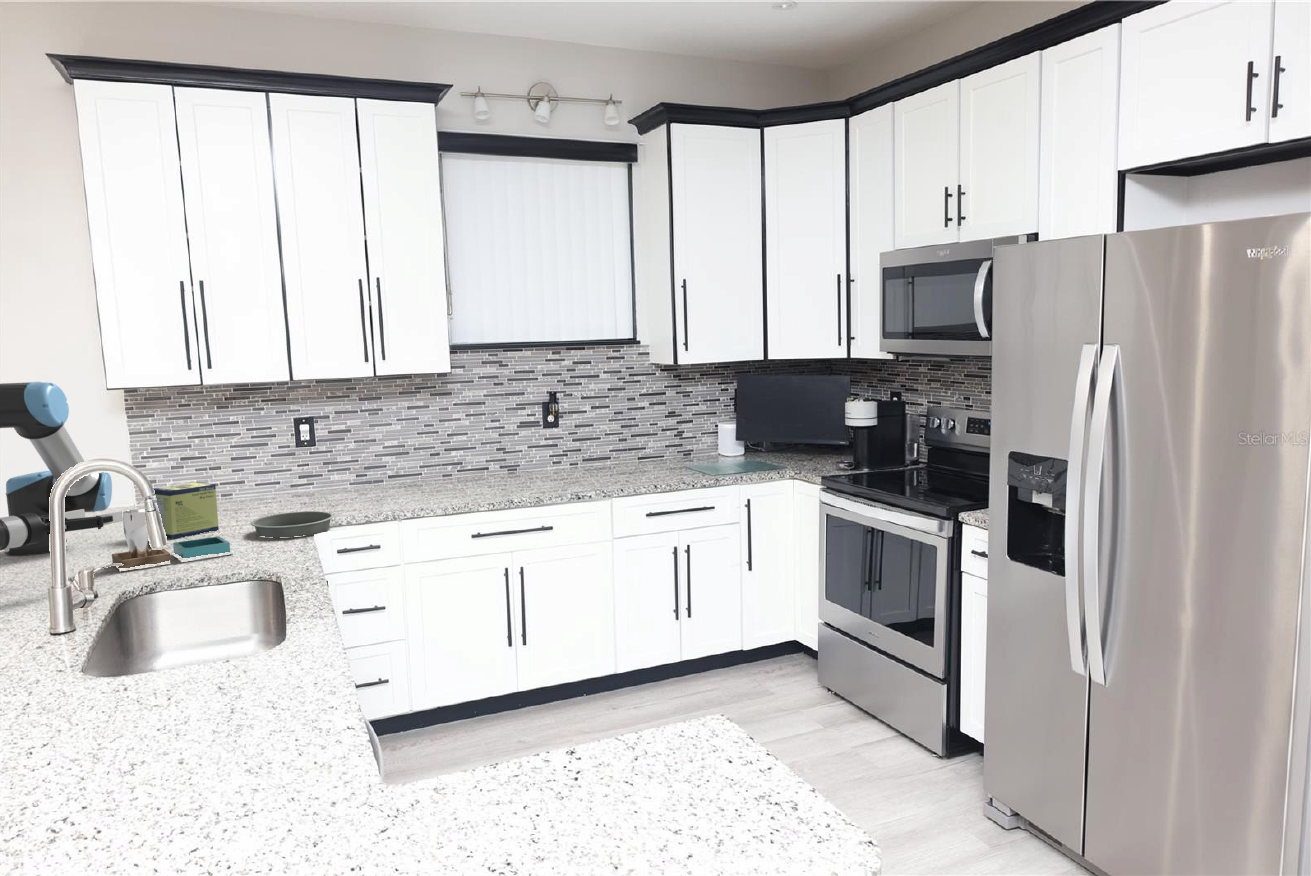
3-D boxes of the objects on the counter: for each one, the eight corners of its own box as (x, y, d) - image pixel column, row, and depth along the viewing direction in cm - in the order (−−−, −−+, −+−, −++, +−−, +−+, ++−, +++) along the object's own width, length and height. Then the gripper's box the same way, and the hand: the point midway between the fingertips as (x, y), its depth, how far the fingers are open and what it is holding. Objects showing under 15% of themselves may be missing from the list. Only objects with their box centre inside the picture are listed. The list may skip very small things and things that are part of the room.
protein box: (220, 530, 278) (216, 483, 276) (172, 540, 265) (168, 490, 263) (201, 527, 283) (197, 481, 282) (153, 536, 270) (149, 488, 268)
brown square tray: (120, 572, 225) (119, 561, 224) (112, 564, 234) (111, 553, 233) (171, 564, 232) (170, 553, 232) (162, 556, 241) (161, 546, 241)
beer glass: (144, 560, 237) (140, 507, 236) (162, 562, 235) (157, 508, 233) (121, 566, 231) (116, 512, 230) (139, 568, 228) (134, 513, 227)
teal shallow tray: (181, 562, 234) (180, 550, 233) (171, 555, 243) (170, 542, 243) (232, 554, 242) (232, 542, 242) (221, 547, 252) (220, 535, 251)
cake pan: (234, 540, 263) (233, 526, 262) (280, 524, 287) (279, 510, 287) (308, 540, 260) (307, 526, 259) (348, 524, 284) (347, 510, 283)
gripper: (-16, 544, 206) (69, 527, 226) (56, 549, 198) (138, 531, 218) (-19, 513, 206) (67, 499, 226) (53, 517, 197) (136, 502, 217)
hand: (102, 515), depth 222 cm, fingers open, 13 cm apart
